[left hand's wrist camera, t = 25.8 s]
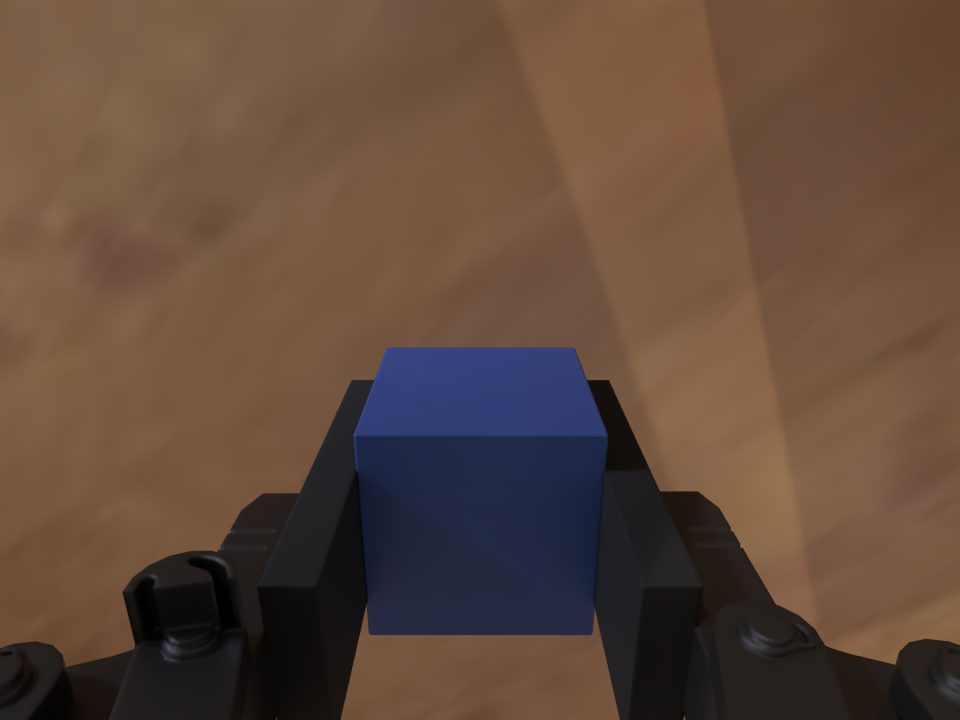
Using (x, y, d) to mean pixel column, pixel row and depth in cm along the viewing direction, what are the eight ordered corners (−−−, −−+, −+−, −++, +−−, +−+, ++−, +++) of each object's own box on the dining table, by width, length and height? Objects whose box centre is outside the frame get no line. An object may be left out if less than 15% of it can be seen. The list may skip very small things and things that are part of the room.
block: (395, 509, 16) (368, 636, 12) (386, 346, 14) (352, 433, 10) (566, 509, 16) (593, 635, 12) (575, 346, 14) (608, 434, 10)
